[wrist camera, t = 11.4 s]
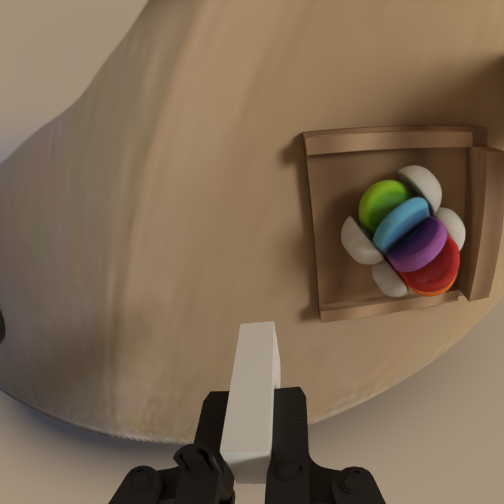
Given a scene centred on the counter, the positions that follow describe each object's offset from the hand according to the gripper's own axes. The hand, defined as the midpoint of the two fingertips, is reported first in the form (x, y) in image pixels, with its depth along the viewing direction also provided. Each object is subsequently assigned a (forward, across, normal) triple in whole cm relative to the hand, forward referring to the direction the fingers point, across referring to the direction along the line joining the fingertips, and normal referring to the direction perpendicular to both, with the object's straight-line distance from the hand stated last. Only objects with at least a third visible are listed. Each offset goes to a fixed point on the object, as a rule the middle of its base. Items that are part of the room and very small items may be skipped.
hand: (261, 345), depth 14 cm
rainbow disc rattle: (+12, +11, 0) cm, 16 cm away
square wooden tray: (+13, +12, 0) cm, 17 cm away
